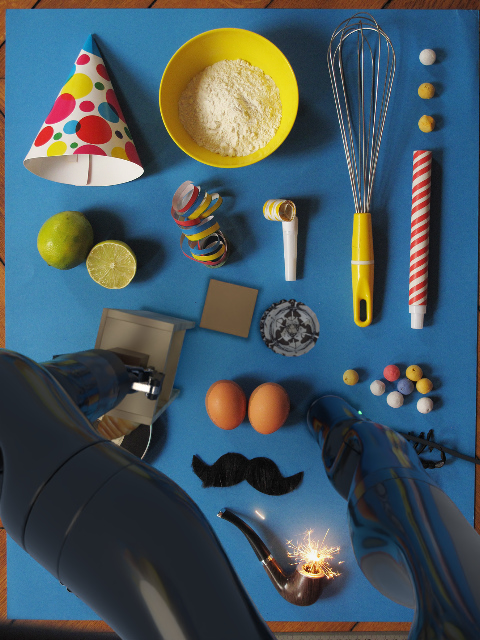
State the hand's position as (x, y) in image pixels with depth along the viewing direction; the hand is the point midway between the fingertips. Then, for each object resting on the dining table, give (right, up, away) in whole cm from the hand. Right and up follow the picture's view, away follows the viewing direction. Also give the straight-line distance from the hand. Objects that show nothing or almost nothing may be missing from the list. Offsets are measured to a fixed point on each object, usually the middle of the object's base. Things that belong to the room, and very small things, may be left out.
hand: (128, 367), depth 61 cm
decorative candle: (+25, +6, +24) cm, 35 cm away
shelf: (+1, 0, +25) cm, 25 cm away
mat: (+14, +9, +24) cm, 30 cm away
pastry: (-8, -13, +25) cm, 29 cm away
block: (0, 0, +1) cm, 1 cm away
